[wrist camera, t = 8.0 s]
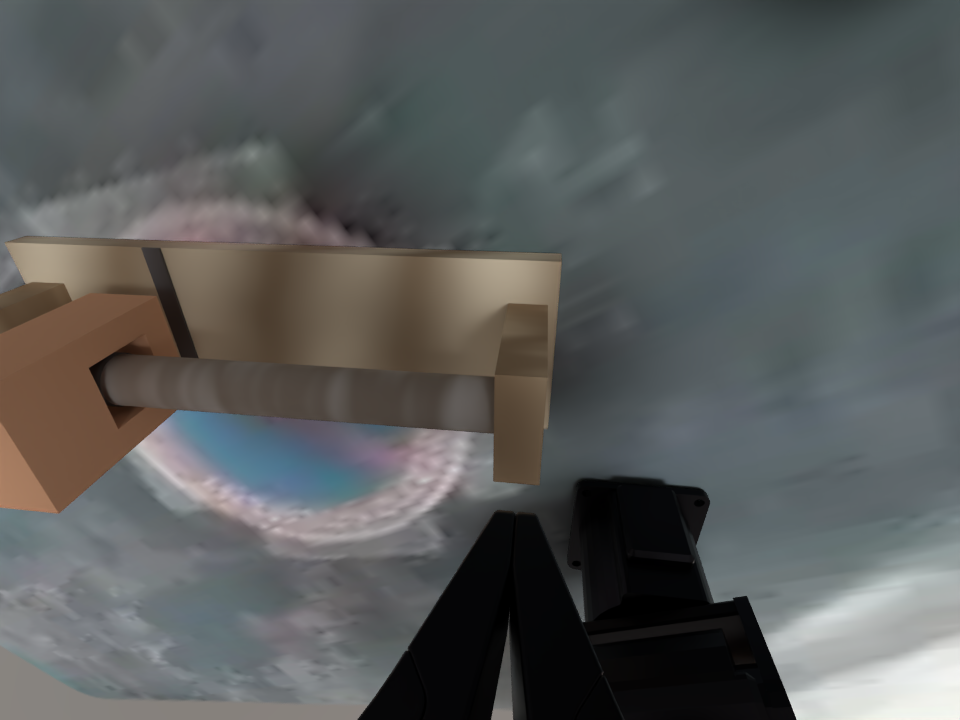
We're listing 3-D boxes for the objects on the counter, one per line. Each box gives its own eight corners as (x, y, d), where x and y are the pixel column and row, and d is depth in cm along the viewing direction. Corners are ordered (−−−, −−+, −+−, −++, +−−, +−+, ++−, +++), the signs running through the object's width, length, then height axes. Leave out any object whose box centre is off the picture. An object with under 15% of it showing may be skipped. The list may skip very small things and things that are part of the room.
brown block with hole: (156, 295, 19) (-20, 390, 13) (193, 395, 22) (58, 513, 16) (90, 292, 20) (-110, 384, 14) (134, 391, 22) (-20, 505, 16)
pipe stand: (561, 253, 19) (566, 324, 13) (547, 415, 23) (547, 522, 17) (25, 236, 22) (-156, 288, 16) (97, 384, 26) (-28, 467, 20)
